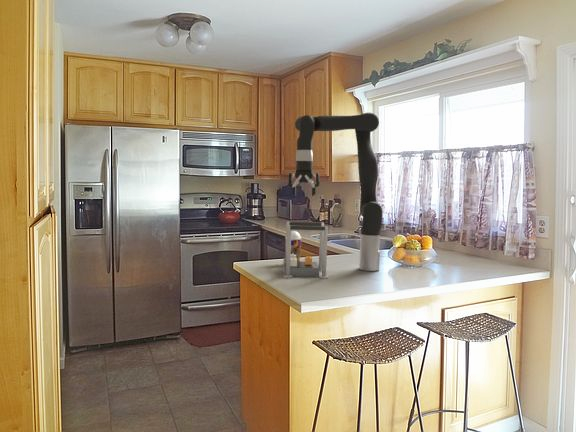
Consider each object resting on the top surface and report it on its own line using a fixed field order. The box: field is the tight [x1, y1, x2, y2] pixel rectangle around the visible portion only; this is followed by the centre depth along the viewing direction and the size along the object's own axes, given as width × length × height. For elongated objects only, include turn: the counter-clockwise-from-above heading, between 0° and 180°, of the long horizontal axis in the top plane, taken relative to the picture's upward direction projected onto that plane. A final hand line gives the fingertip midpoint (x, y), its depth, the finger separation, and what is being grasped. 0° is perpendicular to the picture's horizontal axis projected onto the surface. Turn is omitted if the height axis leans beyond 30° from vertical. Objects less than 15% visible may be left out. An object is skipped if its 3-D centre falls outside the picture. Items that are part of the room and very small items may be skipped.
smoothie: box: [284, 225, 303, 261], centre depth 223 cm, size 8×8×20 cm
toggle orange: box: [304, 255, 313, 265], centre depth 206 cm, size 3×3×4 cm
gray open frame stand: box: [282, 221, 329, 280], centre depth 205 cm, size 20×20×23 cm
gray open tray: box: [282, 257, 320, 278], centre depth 206 cm, size 16×14×6 cm
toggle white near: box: [290, 258, 297, 266], centre depth 201 cm, size 3×3×4 cm
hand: (303, 195), depth 206 cm, fingers open, 8 cm apart
